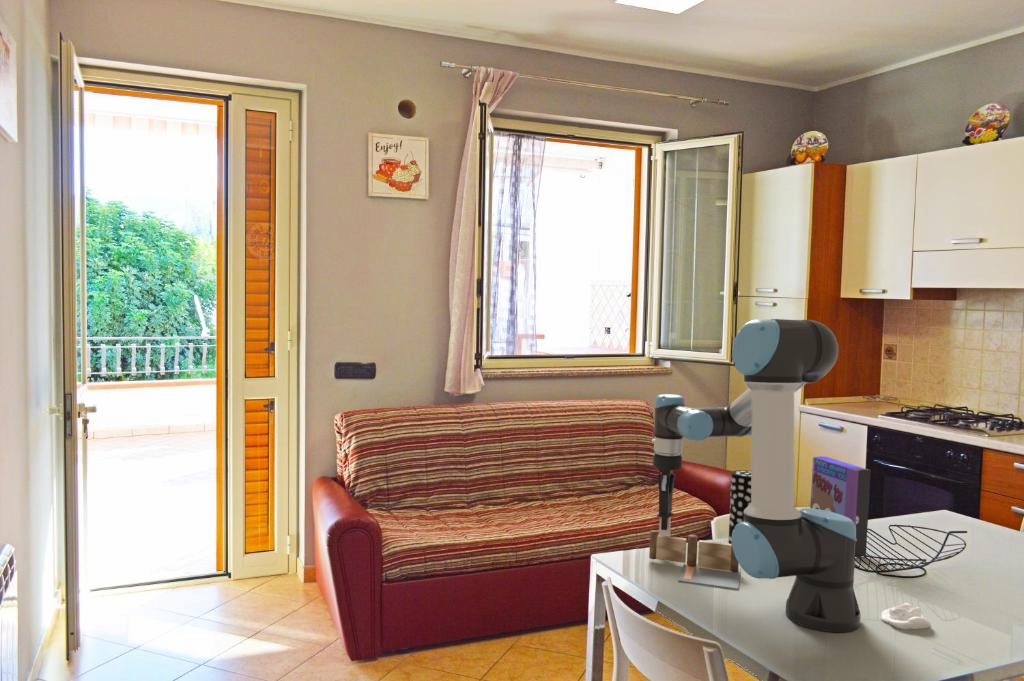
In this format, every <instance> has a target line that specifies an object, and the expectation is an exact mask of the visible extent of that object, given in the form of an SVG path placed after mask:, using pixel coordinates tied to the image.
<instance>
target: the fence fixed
mask: <svg viewBox="0 0 1024 681" xmlns="http://www.w3.org/2000/svg"><path fill="white" fill-rule="evenodd" d="M698 539H699V537H698V535H696V534H688V535H687V548H686V562H687V565H688V566H691V567H695V566H696V564H698V567H704V568H712V569H719V570H727V571H732V572H738V569H740V568H739V566H740V564H739V562H738V561H737V559H736V557H735V554H734V551H733V546H732V541H731V544H729V543H725V542H719V541H718V542H717V541H716V542H715V541H709V540H701V539H699V540H698Z"/></svg>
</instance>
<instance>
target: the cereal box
mask: <svg viewBox="0 0 1024 681" xmlns="http://www.w3.org/2000/svg"><path fill="white" fill-rule="evenodd" d="M811 470H812V471H811V488H810V507H809V508H812V509H819V510H825V511H829V512H833V513H837V514H840V515H843V516H846V517H848V518H850V519H851V520H852V521H853V522H854V523H855V525H856V538H857V541H856V552H855V557H861V556H866V557H867V542H868V541H867V540H868V526H869V525H868V524H869V511H870V510H869V508H870V507H869V506H870V491H871V490H870V489H871V488H870V487H871V472H872V471H871V469H868V468H865V467H861V466H858V465H855V464H852V463H848V462H845V461H841V460H838V459H835V458H832V457H828V456H825V455H824V456H813V457H812V469H811ZM861 558H862V557H861Z"/></svg>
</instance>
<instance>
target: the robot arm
mask: <svg viewBox="0 0 1024 681" xmlns="http://www.w3.org/2000/svg"><path fill="white" fill-rule="evenodd" d="M731 350H732V354H731V355H732V362H733V364H734V365H735V366H734V367H735V369H736V371H737V372H738V373H740V374H742V375H743V380H744V381H743V384H745V385H746V386H747V387H748V388H747V389H746V390H745V391H744V392H743V393H741V394H740V395H739V396H738V397H736V399H734V400H733V401H732V402H731V403H730V404H729V405H727V406H723V407H722V406H721V407H720V406H717V407H689V406H686V404H685V398H684V397H683V396H682V395H678V394H671V393H668V394H666V393H664V394H658V395H657V396H656V398H655V406H654V407H655V408H654V409H653V410H654V423H653V425H654V427H653V431H654V432H653V433H654V435H653V438H654V439H651V443H653V451H654V453H653V454H652V466H653V467H654V468H655V469H658V470H661V471H660V473H659V474H658V479H657V480H658V486H657V487H658V513H657V514H656V517H657V518H659V524H658V525H659V526H658V527H659V528H658V535H662V536H670V537H671V520H672V519H671V517H674V512H672V511H673V496H674V495H673V493H674V487H675V481H676V474H674V471H678V470H681V469H682V466H683V455H682V453H683V450H684V449H683V448H684V438H685V439H688V440H691V441H696V442H699V441H700V442H701V441H704V440H706V439H707V438H721V437H722V438H723V437H724V438H725V437H730V438H731V437H736V438H737V437H738V438H742V437H747V436H751V437H750V438H751V440H750V441H751V450H750V453H751V457H750V459H751V461H750V463H751V464H750V465H751V468H750V469H751V470H750V471H751V504H750V505H749V506H748V507H747V508H746V509H745V510H744V522H740V523H739V524H737V525H736V526H735V529H733V532H732V546H733V551H734V554H735V557H736V559H737V561H738V562H739V566H740V568H741V570H743V571H744V573H746V574H747V575H748V576H750V577H752V578H754V579H759V580H760V579H761V580H762V579H769V580H774V579H778V578H784V577H785V578H786V577H787V578H788V577H795V580H794V583H793V585H792V586H791V589H790V591H789V594H788V597H787V599H786V601H785V615H786V616H787V618H789V619H790V620H791V621H793V622H794V623H796V624H798V625H801V626H803V627H806V628H808V629H809V628H810V629H812V630H816V631H821V632H822V631H823V632H831V633H847V632H852V631H856V630H857V629H858V628H860V626H861V616H862V615H861V610H860V606H859V604H858V603H859V602H858V600H857V596H856V592H855V590H854V581H855V580H854V578H855V562H856V558H855V552H856V541H857V538H856V525H855V523H854V522H853V521H852V520H851V519H850V518H848V517H846V516H843V515H840V514H837V513H833V512H829V511H825V510H819V509H812V508H810V507H804V508H801V509H800V510H798V509H797V508H796V507H795V393H797V391H799V390H800V389H801V388H803V387H804V386H806V384H814V383H816V382H819V381H820V380H821V379H822V378H824V377H825V376H826V375H827V374H828V373H829V372H830V371H831V370H832V369H833V367H834V366H835V365H836V363H837V360H838V356H839V342H838V341H837V337H836V335H834V332H833V331H832V330H831V329H830V328H829V327H828V326H826V324H823V323H821V322H819V321H817V320H812V319H784V318H780V319H779V318H763V319H753V320H750V321H747V322H746V323H744V324H743V325H742V326H741V328H740V329H739V330H738V332H737V334H736V336H735V338H734V340H733V344H732V349H731Z"/></svg>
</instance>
